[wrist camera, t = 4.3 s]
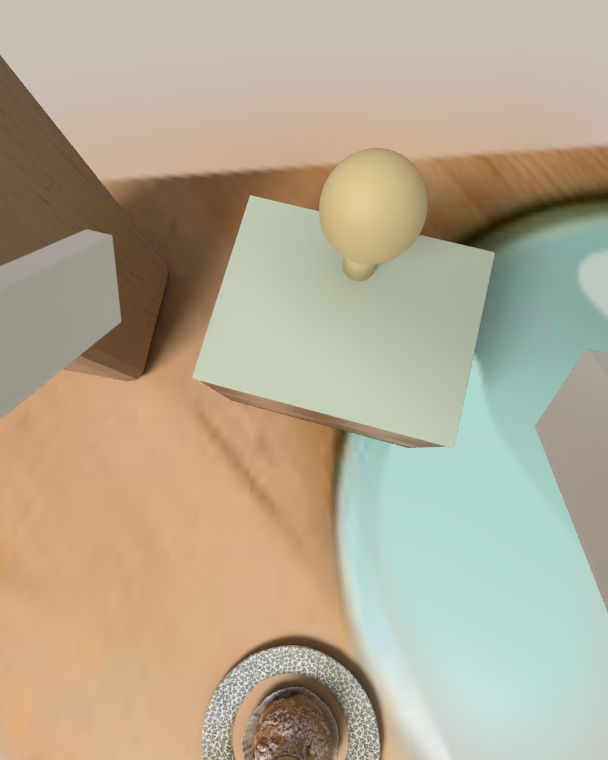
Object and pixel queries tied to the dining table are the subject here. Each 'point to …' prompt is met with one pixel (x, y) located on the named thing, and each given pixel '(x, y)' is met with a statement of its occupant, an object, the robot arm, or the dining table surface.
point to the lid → (351, 305)
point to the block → (73, 224)
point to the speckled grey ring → (290, 711)
